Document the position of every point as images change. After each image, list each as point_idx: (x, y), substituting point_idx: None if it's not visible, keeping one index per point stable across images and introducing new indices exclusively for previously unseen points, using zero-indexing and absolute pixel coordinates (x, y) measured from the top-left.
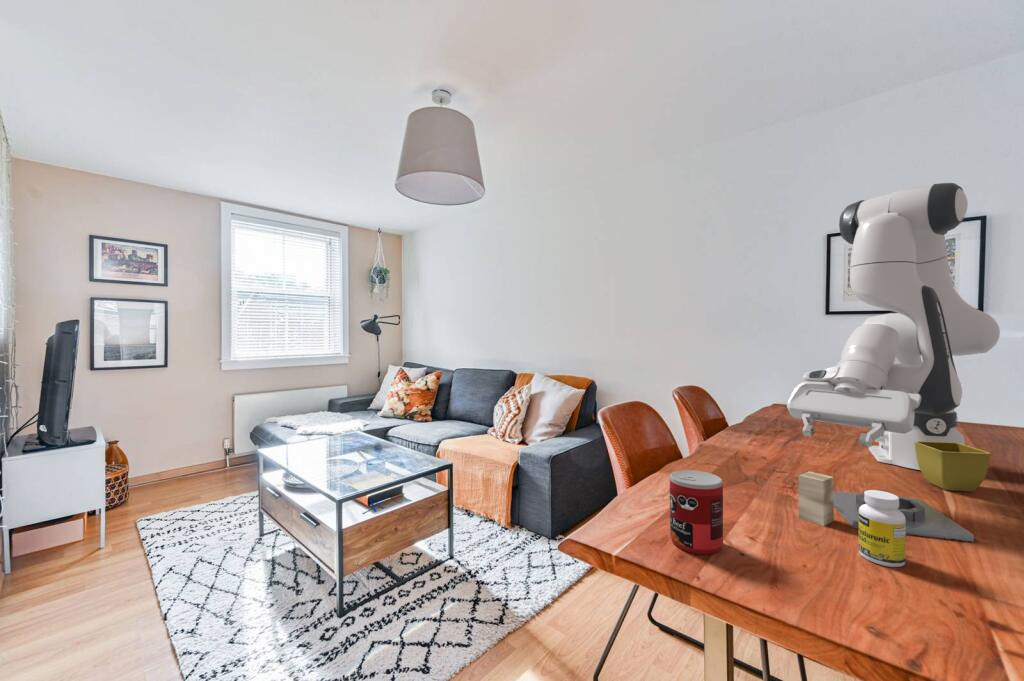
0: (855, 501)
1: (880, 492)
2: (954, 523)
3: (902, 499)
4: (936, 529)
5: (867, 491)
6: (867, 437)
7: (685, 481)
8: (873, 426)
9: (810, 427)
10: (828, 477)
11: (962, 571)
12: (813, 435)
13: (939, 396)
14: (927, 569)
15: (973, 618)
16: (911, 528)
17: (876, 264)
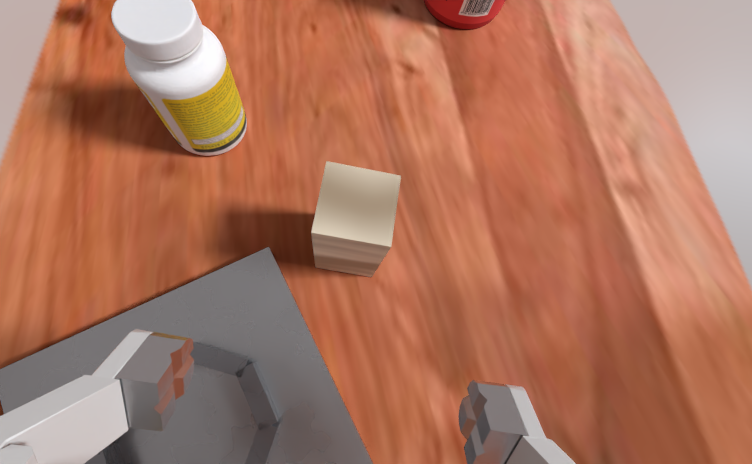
0: (283, 432)
1: (155, 29)
2: None
3: None
4: (83, 339)
5: (187, 16)
6: (126, 351)
7: None
8: (18, 447)
9: (493, 411)
10: (322, 215)
11: (79, 166)
12: (460, 427)
13: None
14: (139, 134)
15: (99, 16)
16: (144, 304)
17: None
